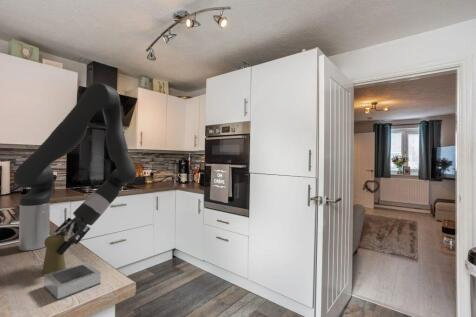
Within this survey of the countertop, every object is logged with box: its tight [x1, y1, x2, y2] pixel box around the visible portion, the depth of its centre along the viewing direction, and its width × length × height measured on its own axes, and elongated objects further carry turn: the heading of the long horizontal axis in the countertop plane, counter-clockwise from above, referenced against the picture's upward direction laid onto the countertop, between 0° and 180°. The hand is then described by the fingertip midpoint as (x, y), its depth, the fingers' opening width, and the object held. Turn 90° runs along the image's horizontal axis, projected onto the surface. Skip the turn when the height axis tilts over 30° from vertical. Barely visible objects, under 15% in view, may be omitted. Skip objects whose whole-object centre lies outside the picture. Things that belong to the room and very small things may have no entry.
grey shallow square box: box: [43, 262, 102, 302], centre depth 68 cm, size 10×10×3 cm
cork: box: [41, 234, 67, 275], centre depth 77 cm, size 6×6×11 cm
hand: (53, 250), depth 77 cm, fingers open, 8 cm apart
